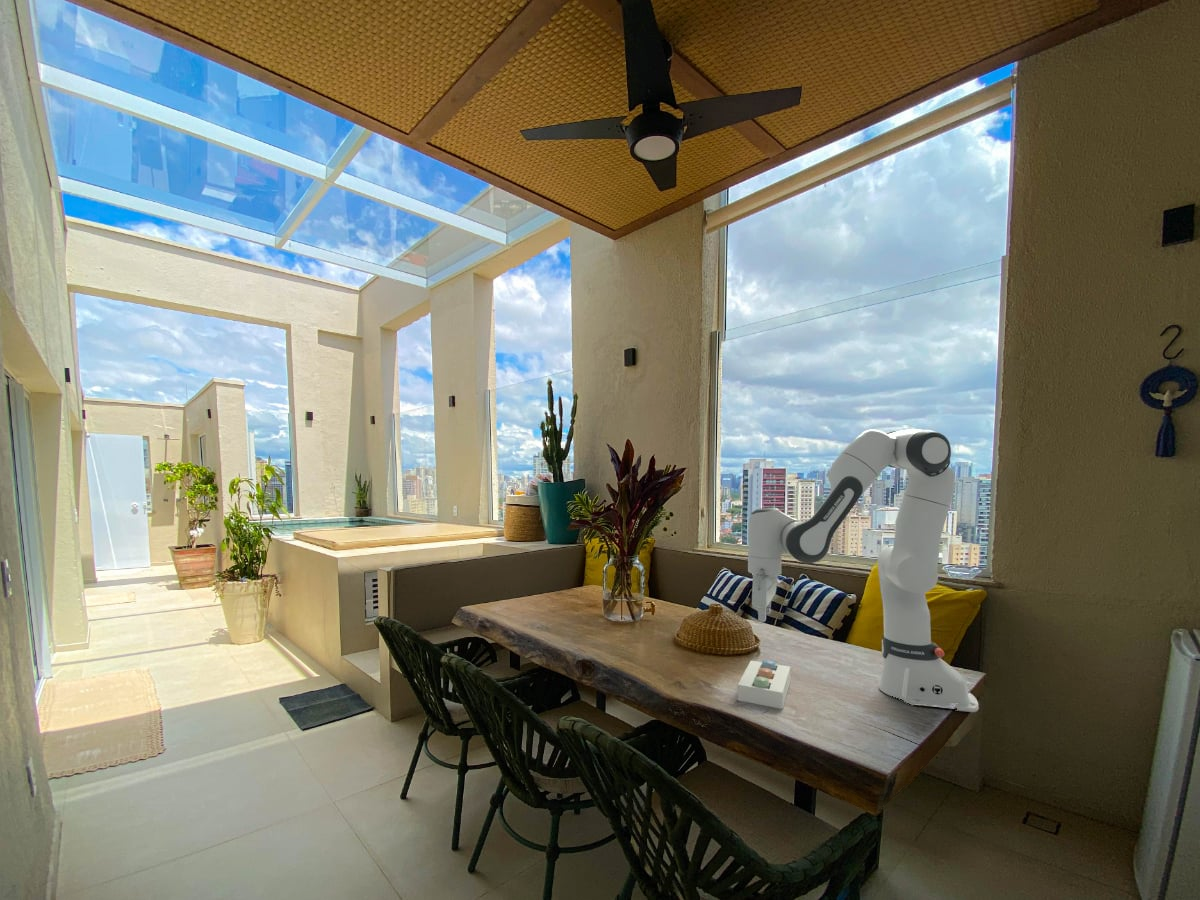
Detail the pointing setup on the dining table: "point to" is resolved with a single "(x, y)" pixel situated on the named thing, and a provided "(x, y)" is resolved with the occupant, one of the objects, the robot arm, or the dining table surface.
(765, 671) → the terracotta button
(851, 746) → the dining table surface
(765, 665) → the blue button
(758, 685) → the sage button
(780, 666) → the button console
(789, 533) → the robot arm
